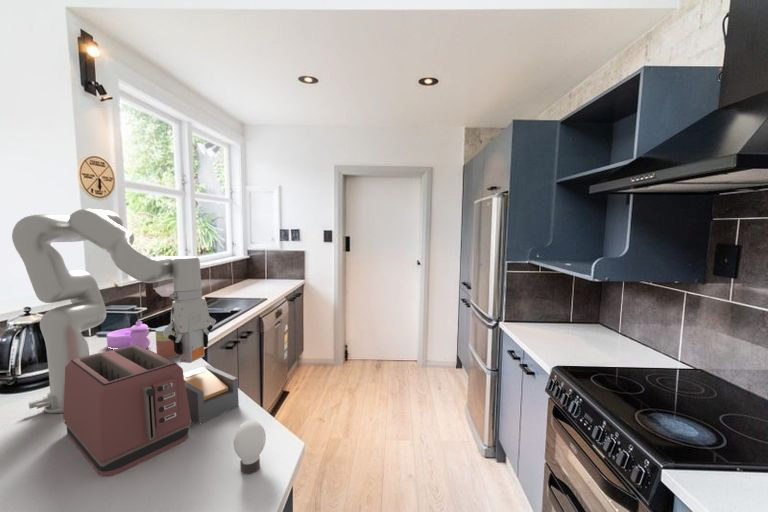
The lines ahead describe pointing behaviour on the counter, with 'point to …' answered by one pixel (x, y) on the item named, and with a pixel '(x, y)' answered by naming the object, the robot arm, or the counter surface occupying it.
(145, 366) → the toaster
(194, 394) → the grey open box
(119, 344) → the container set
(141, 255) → the robot arm
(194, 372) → the rocker switch
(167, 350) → the canned food
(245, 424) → the light bulb
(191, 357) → the skincare box
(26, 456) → the counter surface
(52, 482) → the counter surface
